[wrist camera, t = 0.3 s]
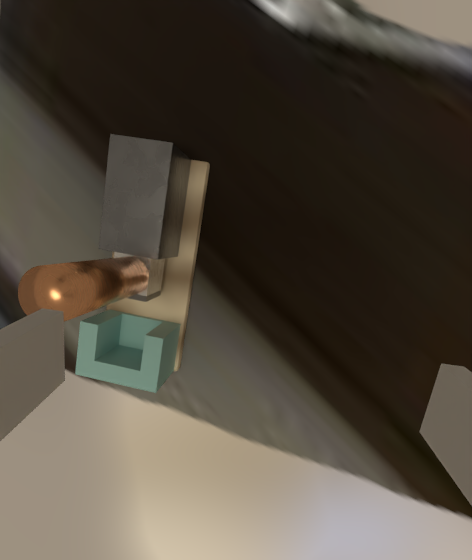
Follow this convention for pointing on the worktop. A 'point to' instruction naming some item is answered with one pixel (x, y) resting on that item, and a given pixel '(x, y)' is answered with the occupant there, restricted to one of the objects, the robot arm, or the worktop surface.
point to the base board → (177, 264)
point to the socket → (127, 349)
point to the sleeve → (144, 197)
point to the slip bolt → (90, 284)
